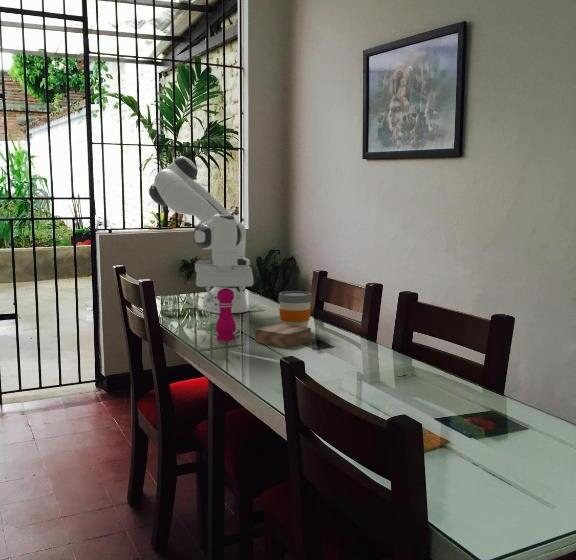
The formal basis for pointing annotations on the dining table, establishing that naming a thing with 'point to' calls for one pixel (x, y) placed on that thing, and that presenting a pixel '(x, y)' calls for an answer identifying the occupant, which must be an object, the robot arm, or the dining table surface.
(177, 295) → the dining table surface
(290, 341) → the walnut block
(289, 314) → the reusable coffee cup
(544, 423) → the dining table surface
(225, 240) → the robot arm
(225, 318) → the pepper mill
